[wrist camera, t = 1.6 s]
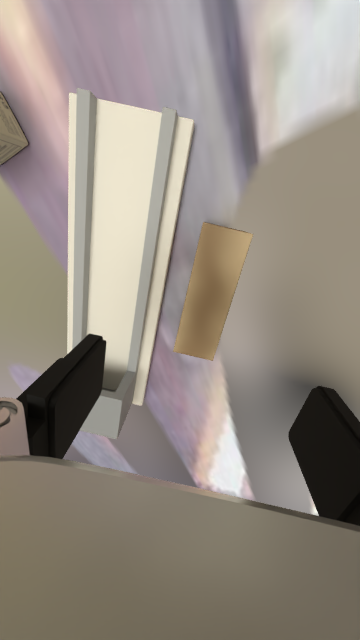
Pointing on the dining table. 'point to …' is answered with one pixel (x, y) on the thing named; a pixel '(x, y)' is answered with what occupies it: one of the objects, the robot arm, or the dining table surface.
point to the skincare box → (9, 133)
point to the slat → (211, 289)
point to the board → (121, 238)
